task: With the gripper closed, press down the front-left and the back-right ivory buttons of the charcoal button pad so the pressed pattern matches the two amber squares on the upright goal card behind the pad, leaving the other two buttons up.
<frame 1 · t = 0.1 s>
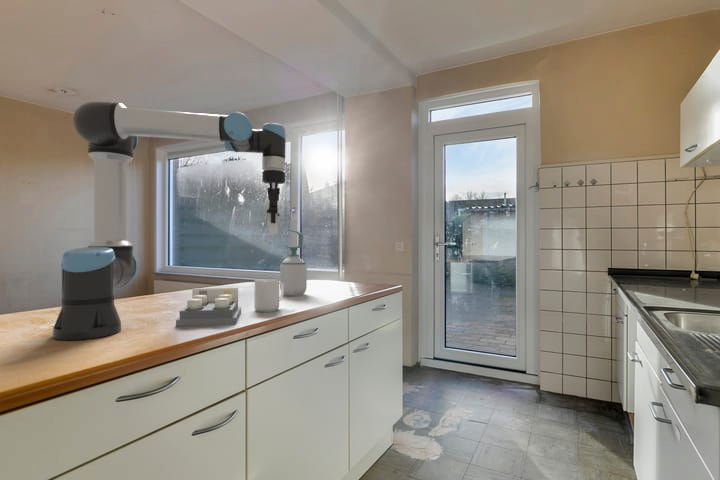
hand: (273, 234, 126), 28 cm above the worktop, fingers open, 13 cm apart
button pad: (211, 319, 122), on the worktop
button back right: (225, 299, 125), point 6 cm above the worktop, slide at 0.0 cm
button back left: (199, 300, 124), point 6 cm above the worktop, slide at 0.0 cm
soap bottle: (293, 295, 176), on the worktop
button front left: (194, 304, 116), point 6 cm above the worktop, slide at 0.0 cm
mug: (270, 310, 139), on the worktop
button front right: (221, 303, 117), point 6 cm above the worktop, slide at 0.0 cm
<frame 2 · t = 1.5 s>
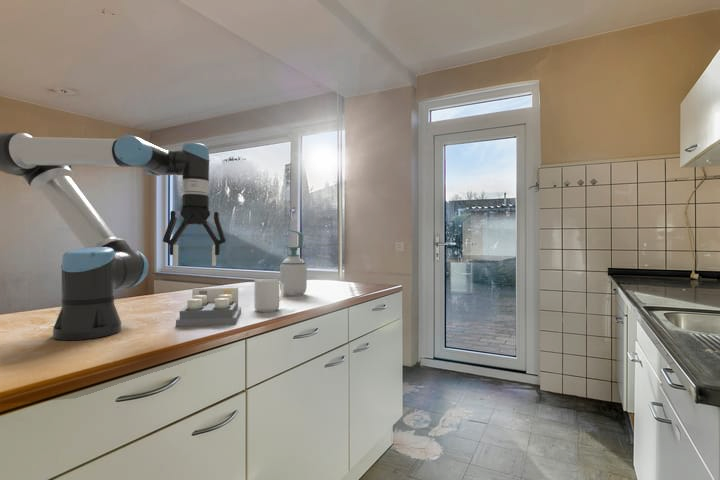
hand: (195, 265, 116), 18 cm above the worktop, fingers open, 10 cm apart
nothing on the worktop moved.
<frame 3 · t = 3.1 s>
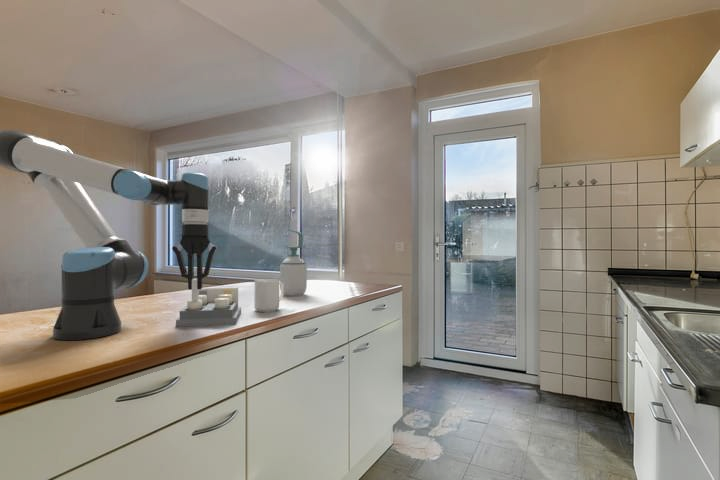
hand: (195, 299, 116), 7 cm above the worktop, fingers closed
button front left: (194, 305, 116), point 5 cm above the worktop, slide at 0.3 cm, touching gripper
everything else where it was.
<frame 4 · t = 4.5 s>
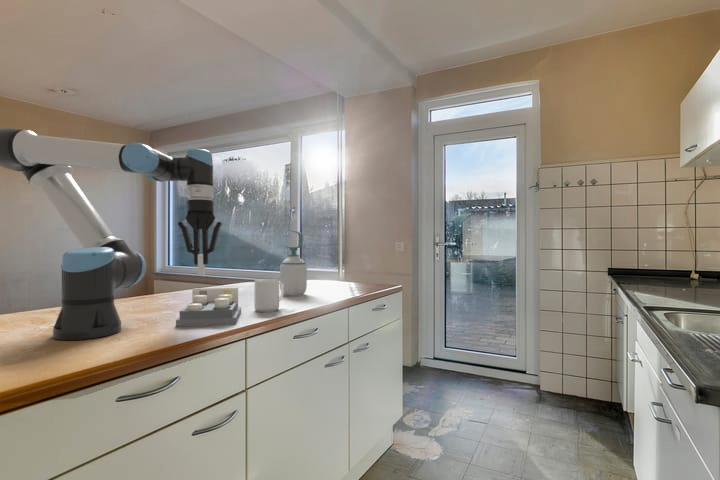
hand: (201, 275, 117), 15 cm above the worktop, fingers closed
button front left: (194, 309, 116), point 4 cm above the worktop, slide at 1.5 cm
everything else where it was.
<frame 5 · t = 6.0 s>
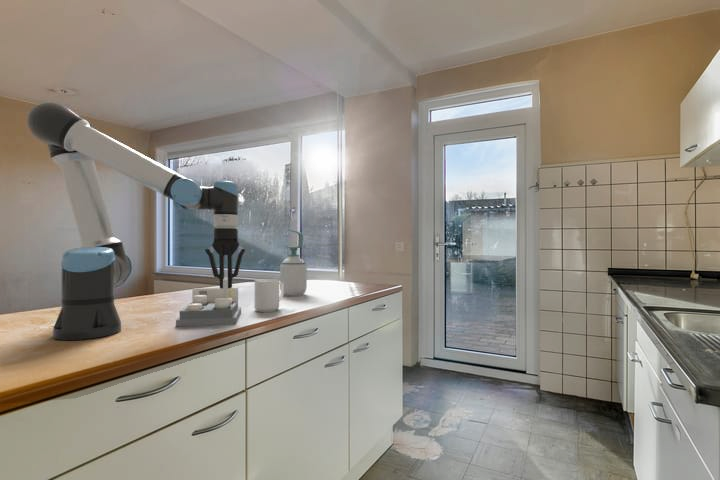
hand: (225, 298, 125), 6 cm above the worktop, fingers closed
button back right: (225, 303, 125), point 5 cm above the worktop, slide at 1.2 cm, touching gripper
everything else where it was.
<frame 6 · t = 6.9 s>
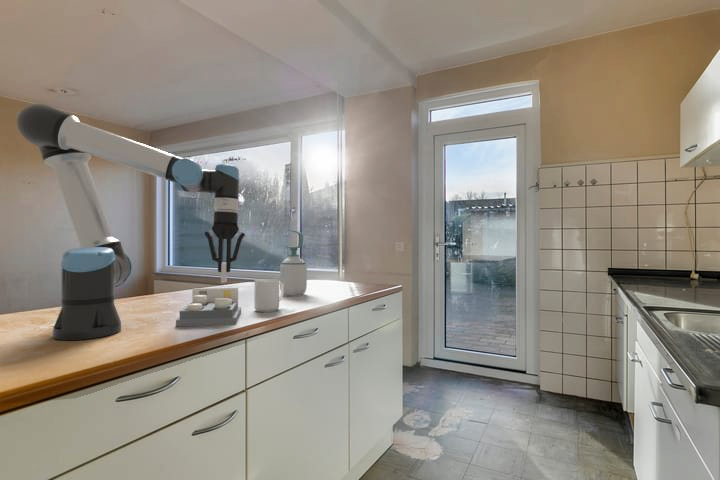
hand: (223, 282, 125), 12 cm above the worktop, fingers closed
button back right: (225, 304, 125), point 4 cm above the worktop, slide at 1.5 cm
everything else where it was.
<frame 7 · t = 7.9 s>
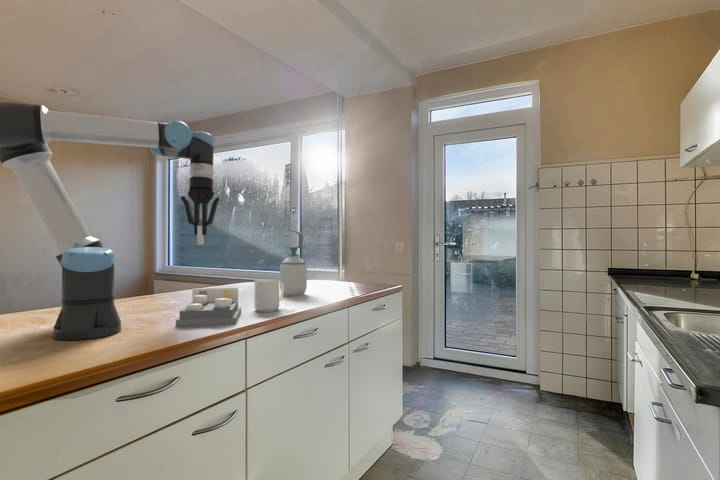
hand: (200, 244, 131), 24 cm above the worktop, fingers closed
nothing on the worktop moved.
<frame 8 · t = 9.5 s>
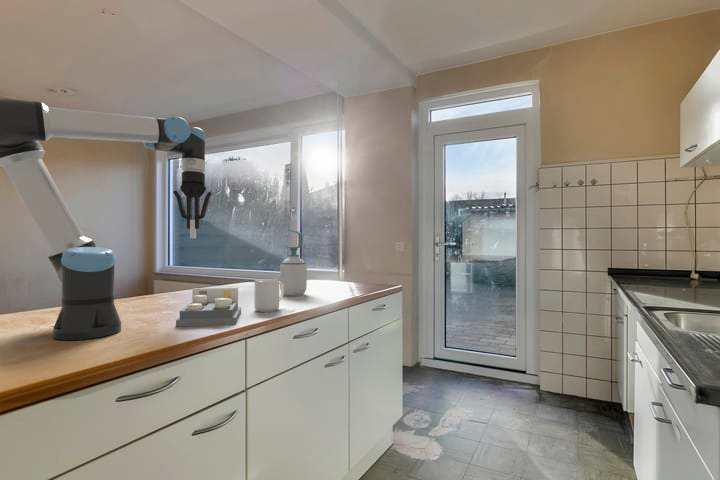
hand: (193, 238, 133), 26 cm above the worktop, fingers closed
nothing on the worktop moved.
at the end: button front left slide at 1.5 cm; button back right slide at 1.5 cm; button back left slide at 0.0 cm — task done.
